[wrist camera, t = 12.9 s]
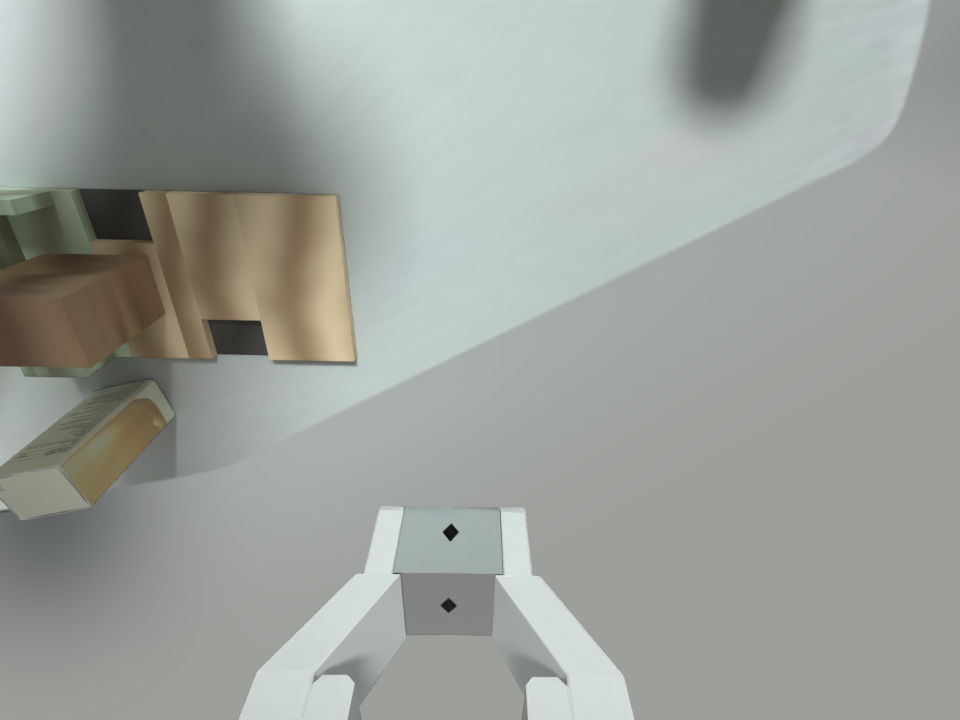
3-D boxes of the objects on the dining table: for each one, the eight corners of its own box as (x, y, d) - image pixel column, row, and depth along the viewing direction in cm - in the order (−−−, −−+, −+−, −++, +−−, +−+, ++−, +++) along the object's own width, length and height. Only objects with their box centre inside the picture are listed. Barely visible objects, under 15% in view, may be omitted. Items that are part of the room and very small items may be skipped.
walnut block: (147, 255, 38) (60, 298, 30) (165, 313, 41) (90, 367, 33) (44, 253, 38) (-69, 296, 30) (69, 311, 40) (-30, 365, 33)
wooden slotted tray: (338, 194, 37) (321, 207, 33) (357, 356, 44) (344, 382, 40) (-8, 186, 37) (-67, 198, 33) (66, 350, 43) (24, 376, 39)
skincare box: (120, 425, 48) (16, 523, 37) (94, 389, 45) (-24, 481, 35) (180, 414, 47) (92, 510, 36) (156, 376, 45) (55, 467, 34)
